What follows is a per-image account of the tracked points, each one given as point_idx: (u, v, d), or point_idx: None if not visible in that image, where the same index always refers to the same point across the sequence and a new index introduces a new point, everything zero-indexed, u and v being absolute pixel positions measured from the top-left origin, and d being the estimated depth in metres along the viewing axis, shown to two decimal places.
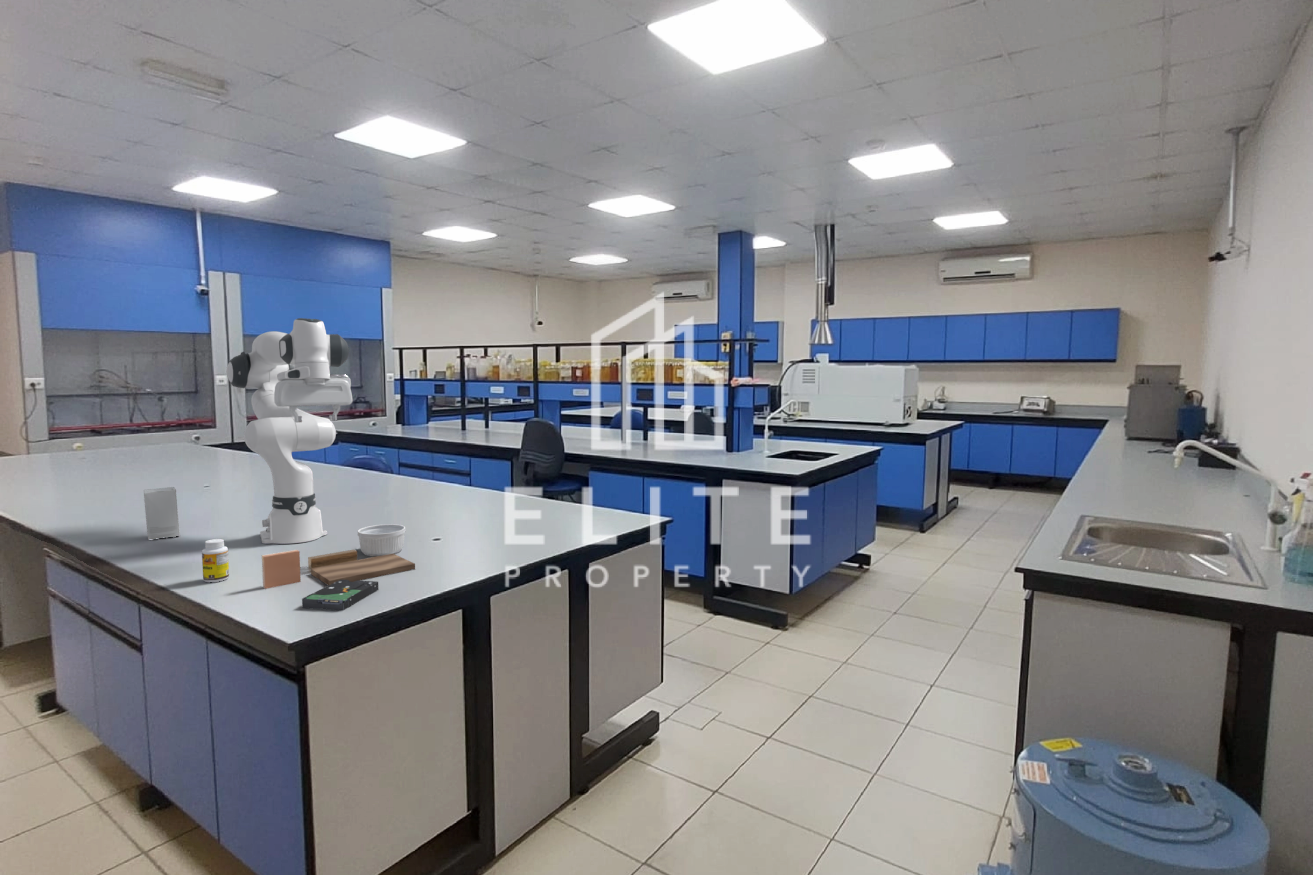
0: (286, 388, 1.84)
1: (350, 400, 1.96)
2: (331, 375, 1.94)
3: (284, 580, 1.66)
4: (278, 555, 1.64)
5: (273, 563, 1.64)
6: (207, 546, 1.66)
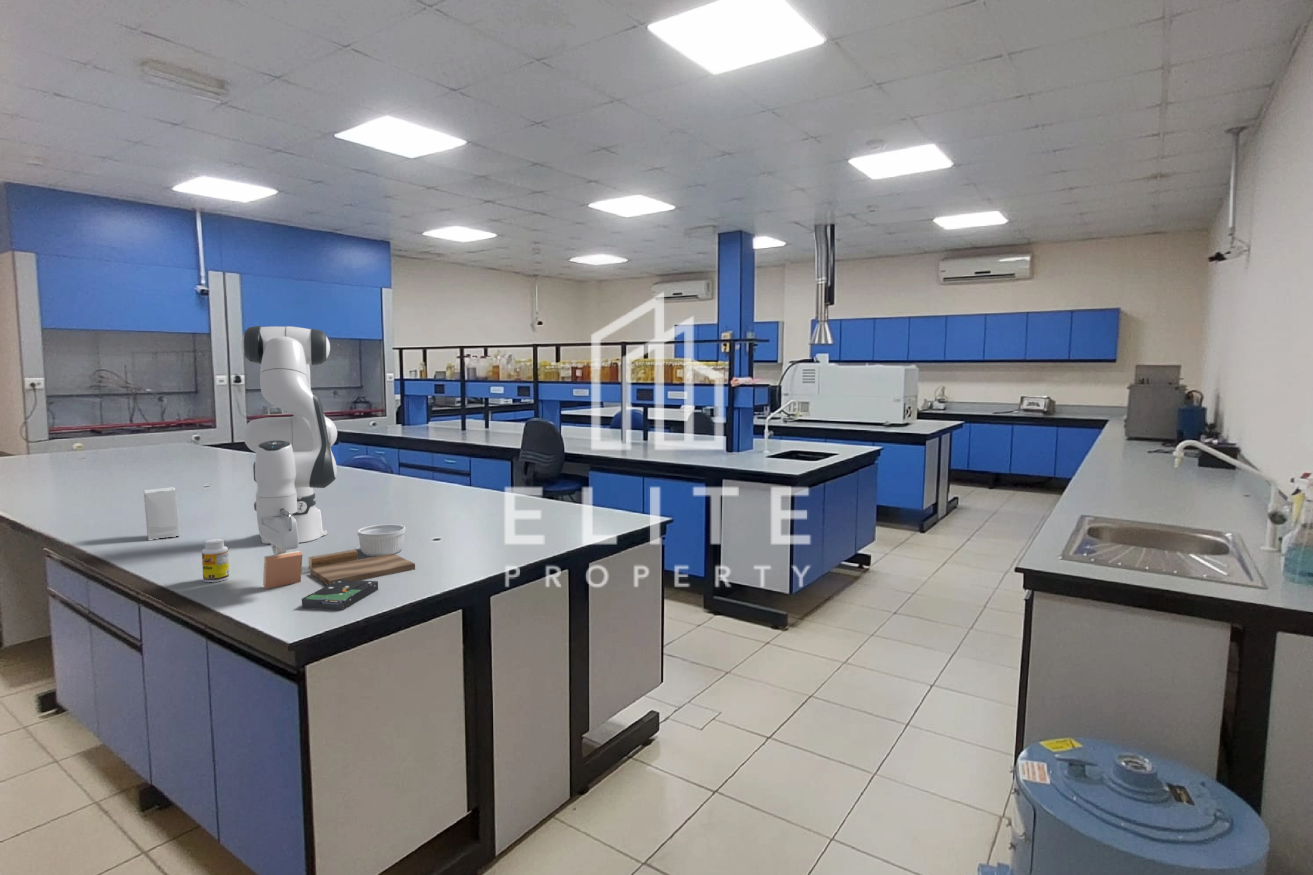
0: (260, 519, 1.69)
1: (281, 545, 1.58)
2: (280, 511, 1.61)
3: (284, 581, 1.65)
4: (281, 558, 1.63)
5: (275, 566, 1.62)
6: (207, 546, 1.66)
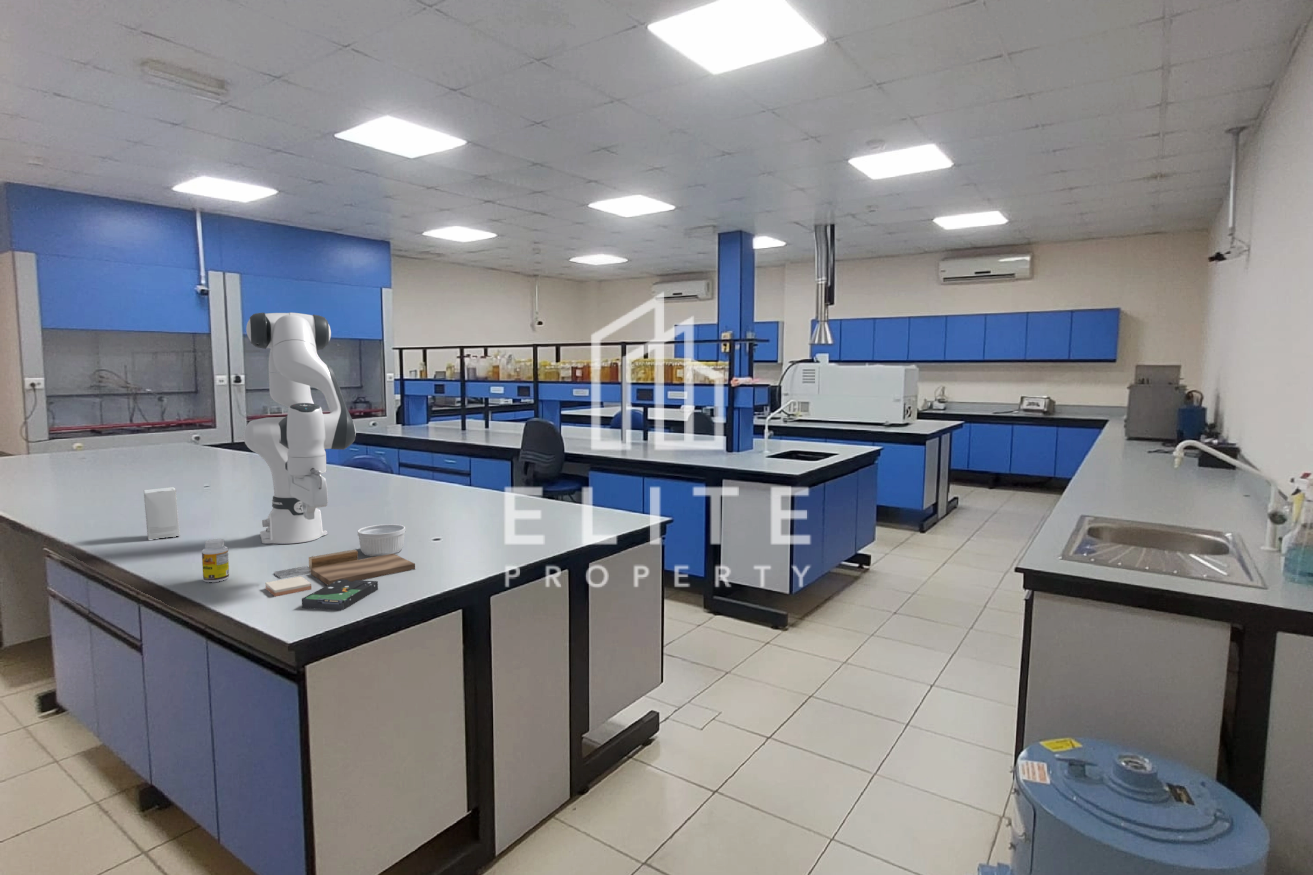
0: (290, 478, 1.76)
1: (312, 503, 1.64)
2: (311, 470, 1.68)
3: None
4: None
5: None
6: (207, 546, 1.66)
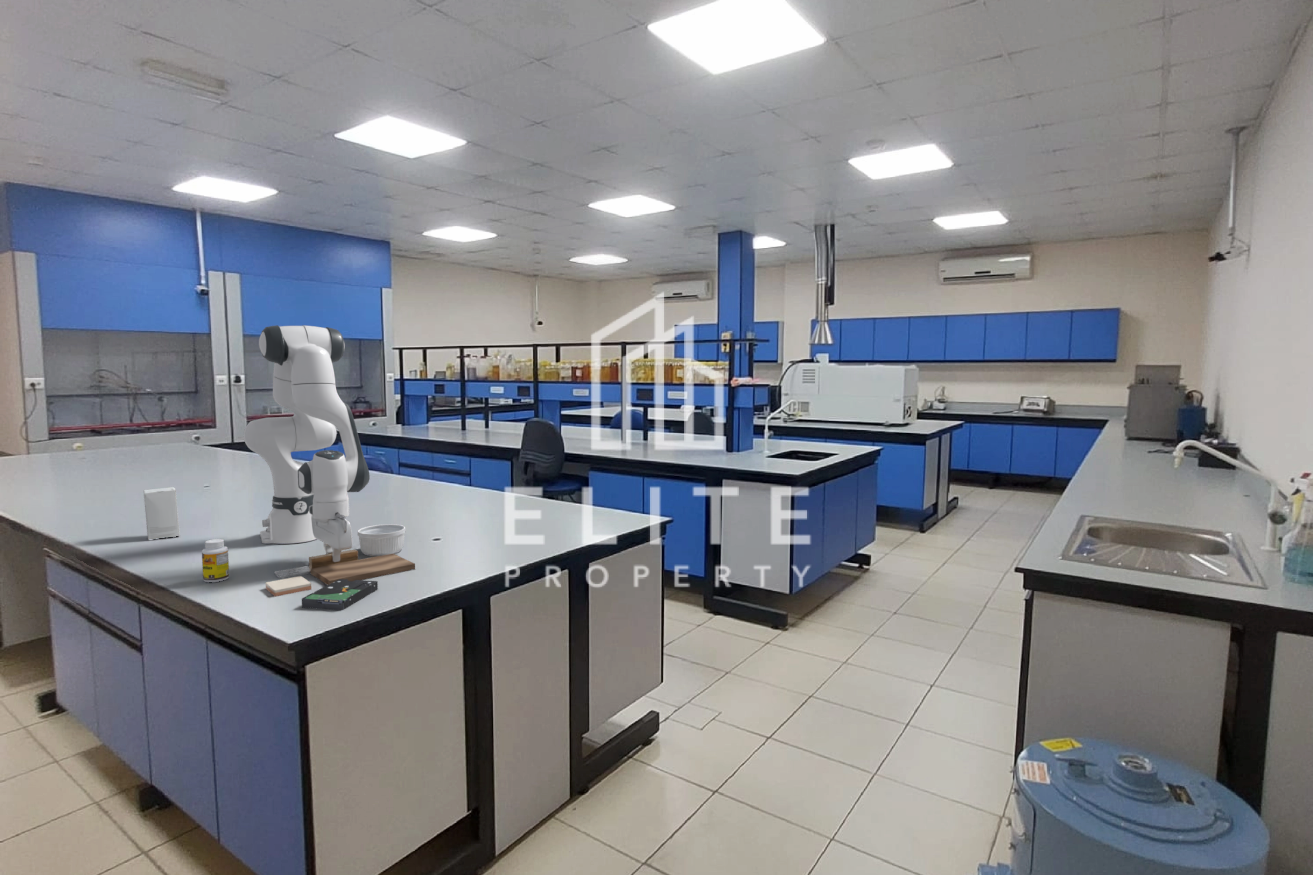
0: (314, 521, 1.85)
1: (337, 546, 1.74)
2: (335, 514, 1.77)
3: None
4: None
5: None
6: (207, 546, 1.66)
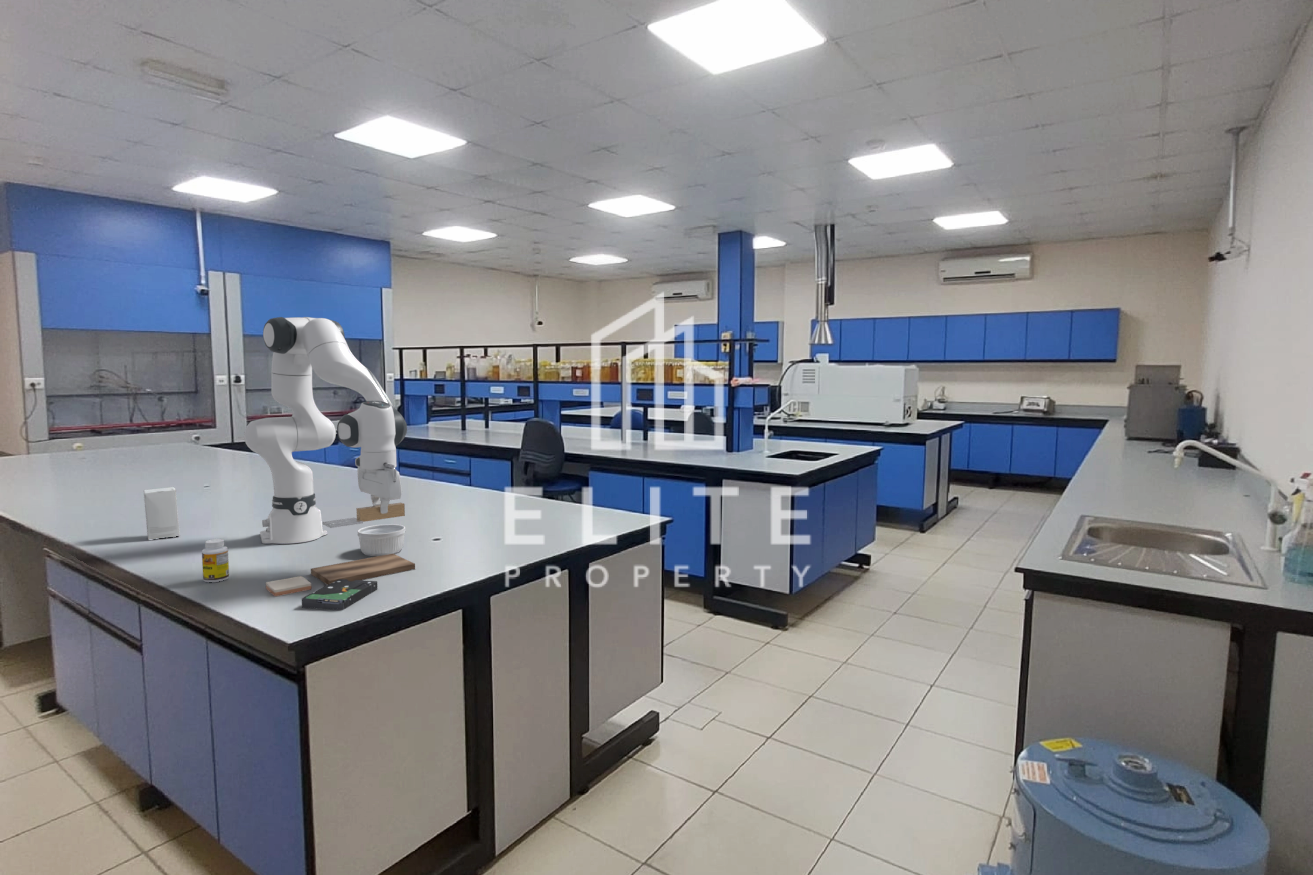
0: (361, 474, 1.83)
1: (387, 495, 1.71)
2: (384, 464, 1.74)
3: None
4: None
5: None
6: (207, 546, 1.66)
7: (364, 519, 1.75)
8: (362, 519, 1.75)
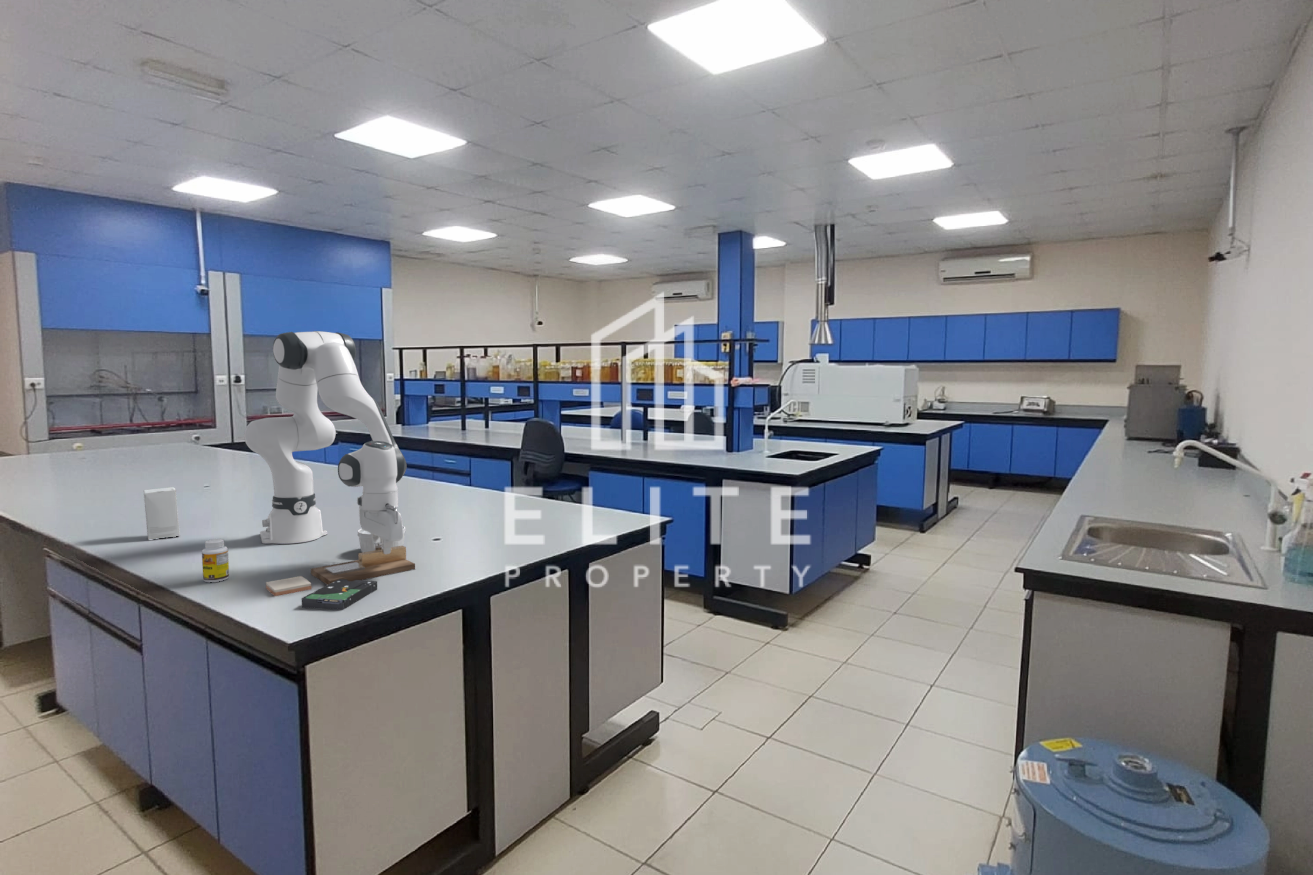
0: (362, 513, 1.84)
1: (388, 537, 1.72)
2: (386, 506, 1.75)
3: None
4: None
5: None
6: (207, 546, 1.66)
7: (366, 564, 1.77)
8: (364, 564, 1.76)
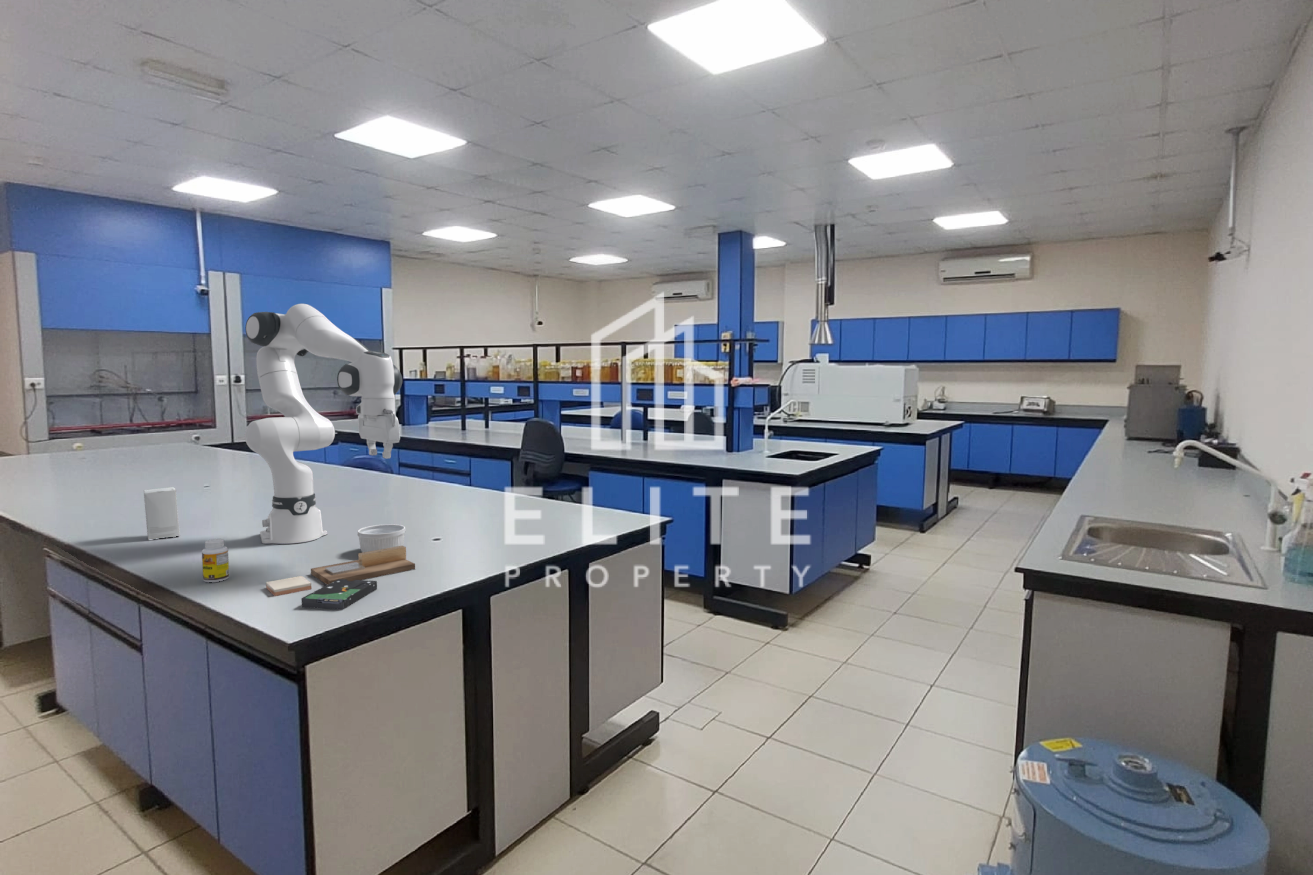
0: (361, 422, 1.93)
1: (386, 439, 1.82)
2: (383, 411, 1.85)
3: None
4: None
5: None
6: (207, 546, 1.66)
7: (366, 564, 1.77)
8: (364, 564, 1.76)
